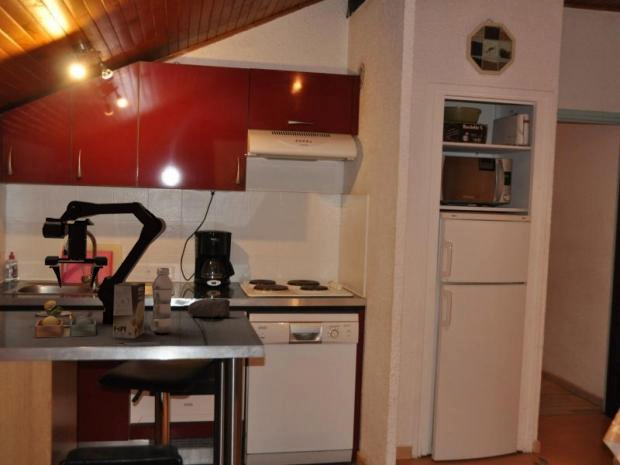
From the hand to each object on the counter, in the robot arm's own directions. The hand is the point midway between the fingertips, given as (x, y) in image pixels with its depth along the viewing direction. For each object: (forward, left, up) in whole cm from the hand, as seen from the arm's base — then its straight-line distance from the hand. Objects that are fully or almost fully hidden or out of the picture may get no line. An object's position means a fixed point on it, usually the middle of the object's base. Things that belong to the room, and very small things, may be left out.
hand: (76, 287), depth 189 cm
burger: (+7, -16, -12) cm, 22 cm away
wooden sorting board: (+2, +15, -12) cm, 19 cm away
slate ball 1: (-2, +16, -11) cm, 20 cm away
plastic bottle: (-25, +20, -12) cm, 34 cm away
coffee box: (-15, +26, -12) cm, 32 cm away
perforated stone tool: (-45, -8, -12) cm, 47 cm away
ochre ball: (+7, +16, -11) cm, 21 cm away
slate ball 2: (-2, +22, -11) cm, 24 cm away
